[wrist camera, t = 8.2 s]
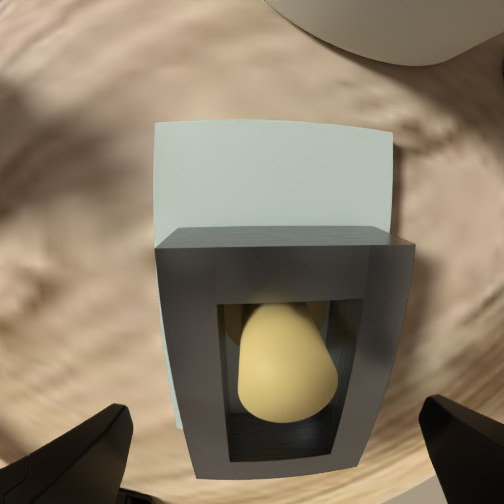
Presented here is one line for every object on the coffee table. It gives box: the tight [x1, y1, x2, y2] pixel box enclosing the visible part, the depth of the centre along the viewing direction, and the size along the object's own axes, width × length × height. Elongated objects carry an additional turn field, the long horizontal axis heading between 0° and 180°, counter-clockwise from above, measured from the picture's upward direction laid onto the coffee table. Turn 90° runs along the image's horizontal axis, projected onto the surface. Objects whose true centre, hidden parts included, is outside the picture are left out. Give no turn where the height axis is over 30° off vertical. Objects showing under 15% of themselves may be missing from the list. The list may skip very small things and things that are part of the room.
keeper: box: [153, 119, 393, 429], centre depth 9 cm, size 14×9×6 cm, turn 179°
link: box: [155, 226, 416, 480], centre depth 10 cm, size 10×7×3 cm
